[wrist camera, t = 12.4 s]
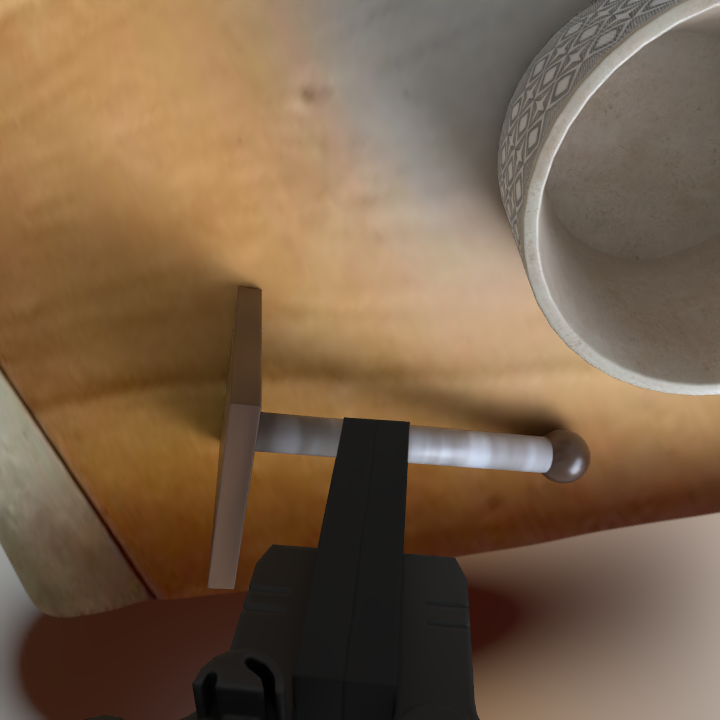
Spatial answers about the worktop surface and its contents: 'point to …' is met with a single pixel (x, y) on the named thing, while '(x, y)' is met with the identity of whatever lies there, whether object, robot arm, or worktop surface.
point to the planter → (624, 189)
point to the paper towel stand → (321, 438)
